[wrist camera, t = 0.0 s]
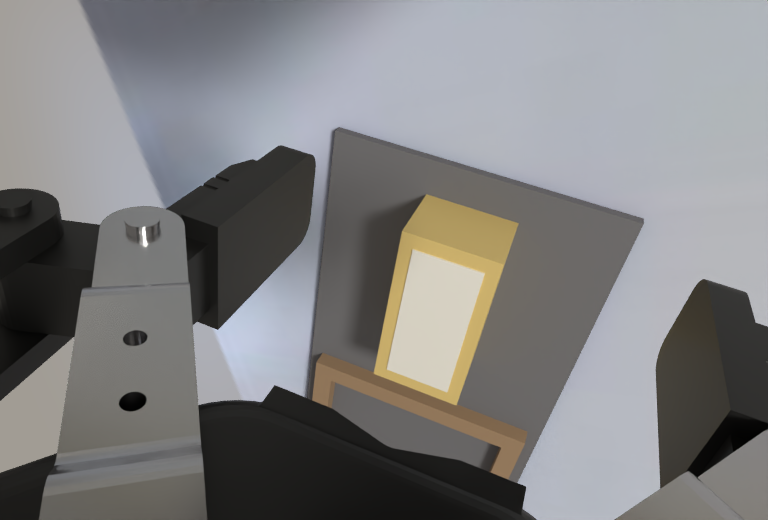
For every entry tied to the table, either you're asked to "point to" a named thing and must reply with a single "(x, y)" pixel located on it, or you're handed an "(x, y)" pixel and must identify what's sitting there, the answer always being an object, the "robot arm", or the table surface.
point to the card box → (441, 296)
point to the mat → (503, 323)
